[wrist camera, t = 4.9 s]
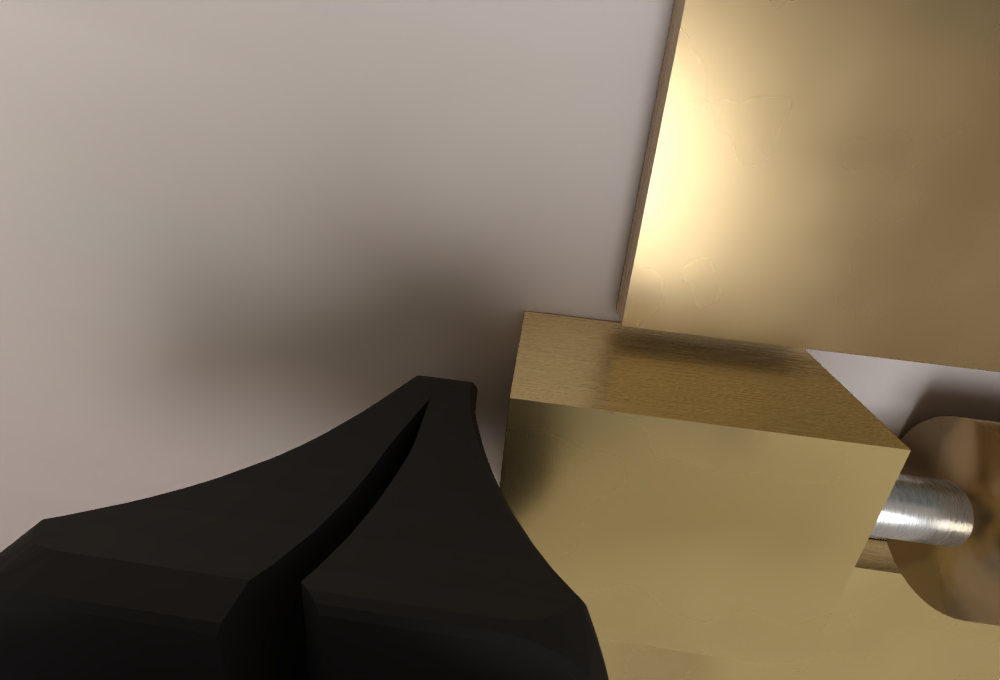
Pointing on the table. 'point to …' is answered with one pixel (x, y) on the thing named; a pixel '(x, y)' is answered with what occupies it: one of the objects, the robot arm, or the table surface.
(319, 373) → the table surface
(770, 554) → the brass leaf
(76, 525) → the robot arm
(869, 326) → the bronze leaf with pin
